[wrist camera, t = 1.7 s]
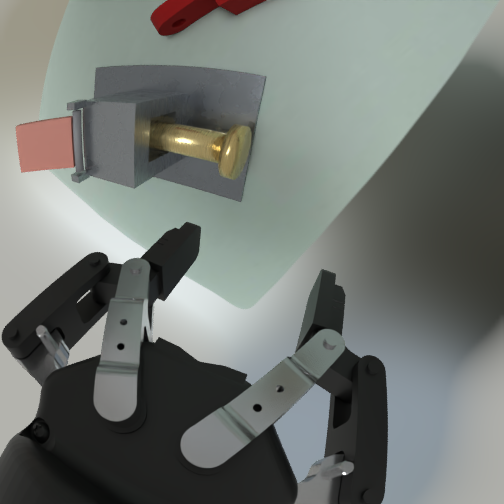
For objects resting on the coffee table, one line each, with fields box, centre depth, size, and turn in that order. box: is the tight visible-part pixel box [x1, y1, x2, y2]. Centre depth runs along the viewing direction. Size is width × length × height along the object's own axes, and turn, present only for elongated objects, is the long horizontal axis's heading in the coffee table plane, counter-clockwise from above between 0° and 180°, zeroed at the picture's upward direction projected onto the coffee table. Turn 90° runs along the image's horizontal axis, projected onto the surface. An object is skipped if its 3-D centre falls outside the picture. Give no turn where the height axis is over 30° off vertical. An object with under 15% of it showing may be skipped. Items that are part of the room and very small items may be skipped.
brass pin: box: [149, 120, 251, 180], centre depth 27 cm, size 6×14×6 cm, turn 79°
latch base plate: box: [67, 65, 266, 202], centre depth 27 cm, size 16×26×12 cm, turn 79°
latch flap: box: [16, 110, 84, 172], centre depth 23 cm, size 7×9×1 cm
